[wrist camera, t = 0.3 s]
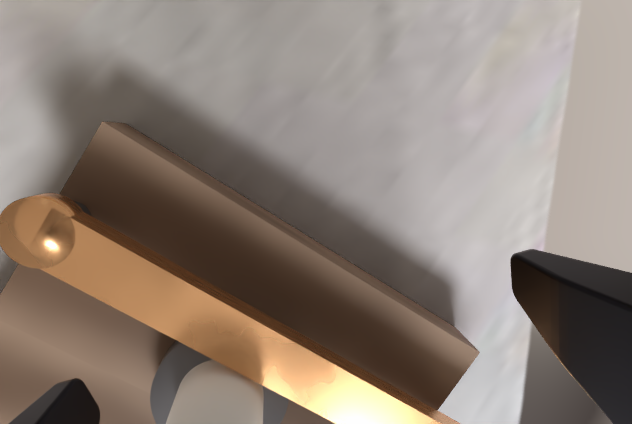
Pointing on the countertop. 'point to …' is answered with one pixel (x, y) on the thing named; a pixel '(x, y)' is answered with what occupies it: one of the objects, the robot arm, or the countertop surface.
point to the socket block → (218, 269)
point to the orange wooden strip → (199, 313)
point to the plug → (209, 393)
